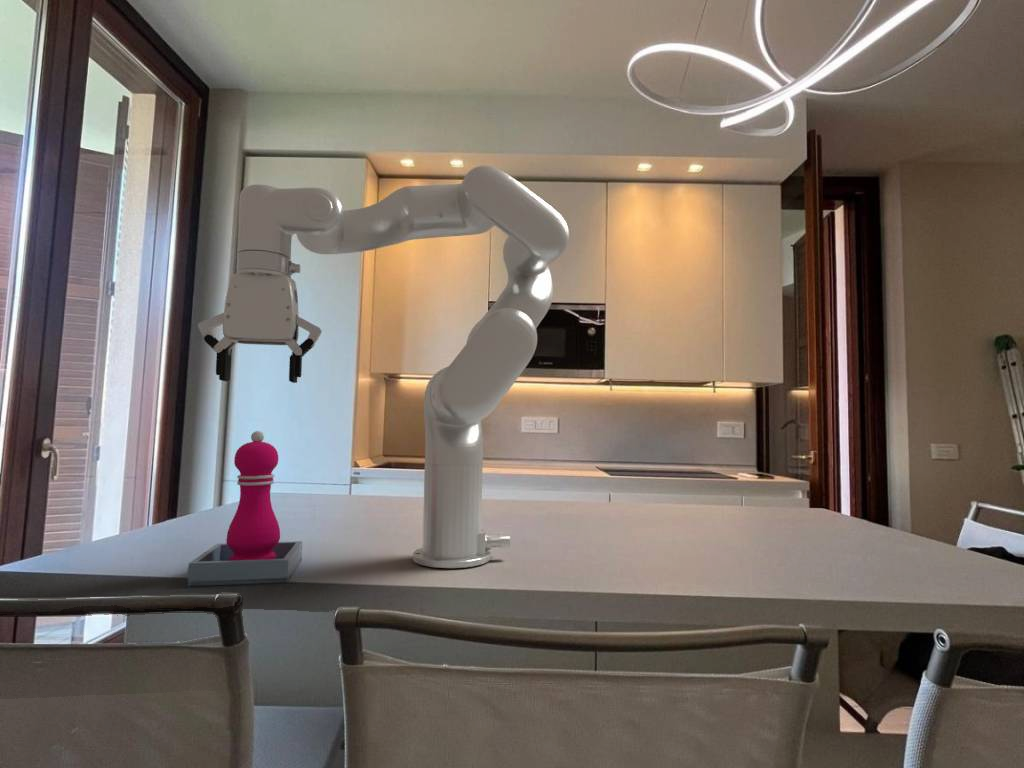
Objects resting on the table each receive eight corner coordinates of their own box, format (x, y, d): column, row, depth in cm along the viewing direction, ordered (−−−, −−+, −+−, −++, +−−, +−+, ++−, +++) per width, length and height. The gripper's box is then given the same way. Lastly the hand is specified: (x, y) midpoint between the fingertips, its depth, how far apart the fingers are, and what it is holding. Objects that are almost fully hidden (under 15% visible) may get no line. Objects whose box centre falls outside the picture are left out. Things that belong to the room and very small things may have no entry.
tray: (301, 560, 90) (302, 541, 90) (287, 582, 78) (288, 559, 78) (216, 563, 88) (217, 543, 88) (187, 586, 75) (188, 563, 76)
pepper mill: (288, 562, 86) (292, 431, 88) (261, 574, 79) (266, 431, 80) (244, 561, 87) (249, 431, 89) (213, 572, 80) (219, 431, 81)
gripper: (325, 279, 92) (322, 384, 90) (209, 272, 88) (204, 381, 87) (320, 266, 84) (316, 381, 83) (193, 258, 81) (187, 378, 79)
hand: (259, 381), depth 85 cm, fingers open, 9 cm apart
